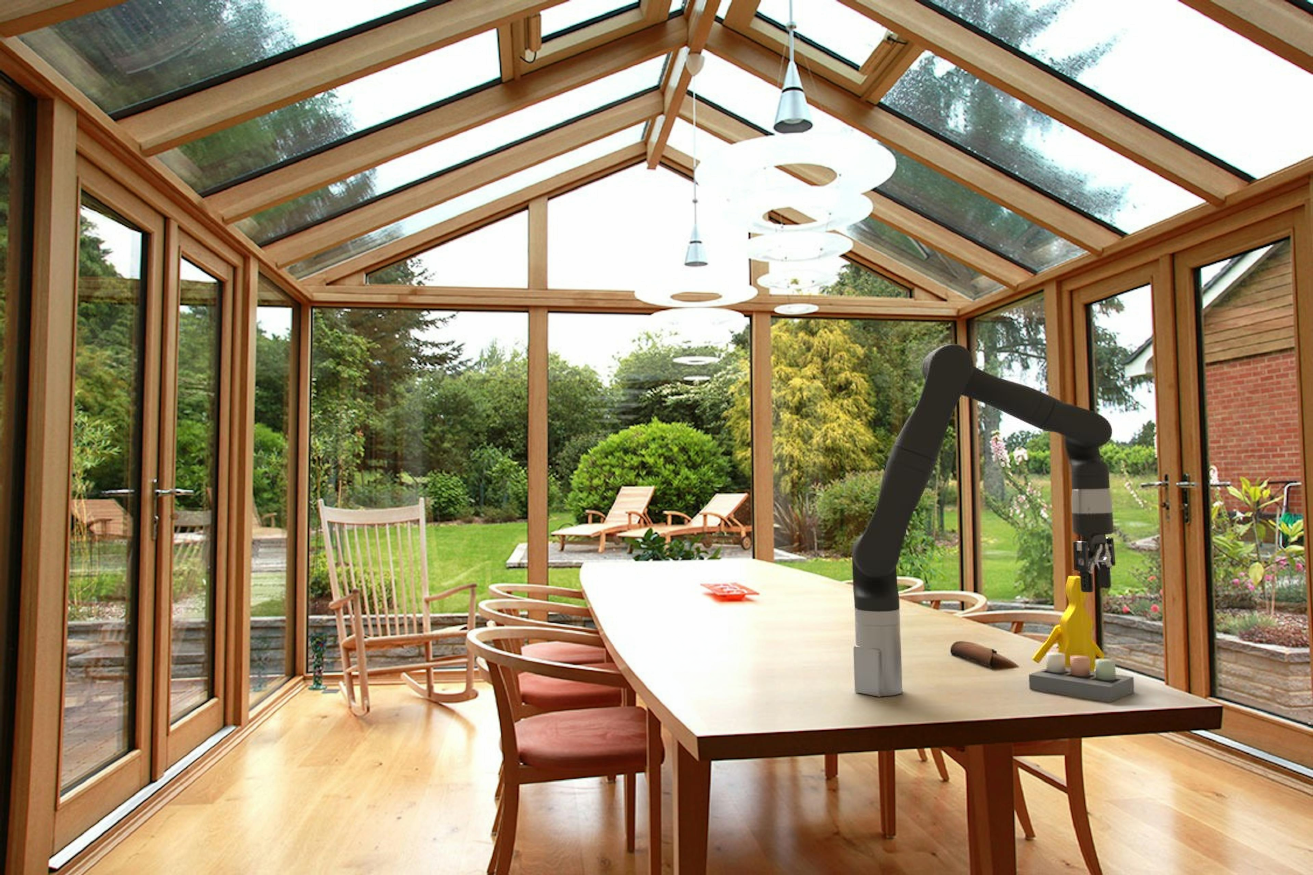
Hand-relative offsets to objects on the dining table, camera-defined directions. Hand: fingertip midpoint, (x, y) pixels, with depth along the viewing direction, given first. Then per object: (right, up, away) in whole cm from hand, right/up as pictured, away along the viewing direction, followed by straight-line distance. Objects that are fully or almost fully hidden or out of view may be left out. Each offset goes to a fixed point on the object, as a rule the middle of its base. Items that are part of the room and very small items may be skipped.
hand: (1096, 589), depth 177 cm
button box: (-3, -21, +1) cm, 21 cm away
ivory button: (-6, -18, +5) cm, 19 cm away
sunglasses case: (-11, -23, +31) cm, 41 cm away
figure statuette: (+3, -22, +15) cm, 27 cm away
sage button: (0, -17, -3) cm, 18 cm away
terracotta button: (-3, -18, +1) cm, 18 cm away
